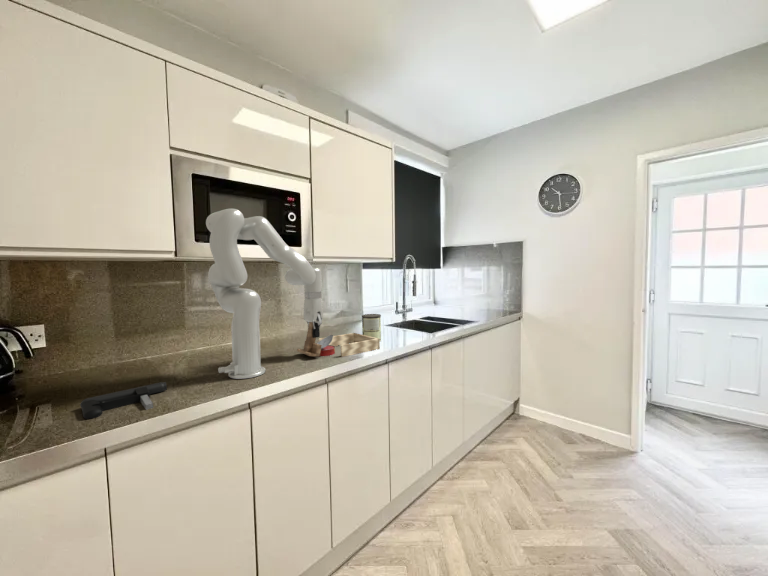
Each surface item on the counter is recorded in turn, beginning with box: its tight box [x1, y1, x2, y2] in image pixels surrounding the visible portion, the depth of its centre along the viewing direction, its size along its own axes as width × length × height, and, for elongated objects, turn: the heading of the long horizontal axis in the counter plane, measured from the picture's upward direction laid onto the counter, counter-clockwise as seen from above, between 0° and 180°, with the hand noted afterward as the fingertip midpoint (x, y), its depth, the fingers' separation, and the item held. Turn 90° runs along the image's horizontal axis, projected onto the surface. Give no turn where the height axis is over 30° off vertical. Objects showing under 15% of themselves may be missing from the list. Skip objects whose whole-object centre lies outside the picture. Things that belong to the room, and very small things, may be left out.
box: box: [318, 332, 381, 357], centre depth 156 cm, size 21×21×5 cm
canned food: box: [316, 334, 336, 357], centre depth 147 cm, size 11×10×10 cm
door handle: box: [80, 381, 168, 420], centre depth 92 cm, size 3×20×16 cm
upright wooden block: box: [296, 322, 322, 358], centre depth 143 cm, size 5×12×14 cm, turn 40°
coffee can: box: [361, 313, 382, 342], centre depth 173 cm, size 10×10×14 cm
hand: (314, 336), depth 143 cm, fingers closed on upright wooden block, 3 cm apart
